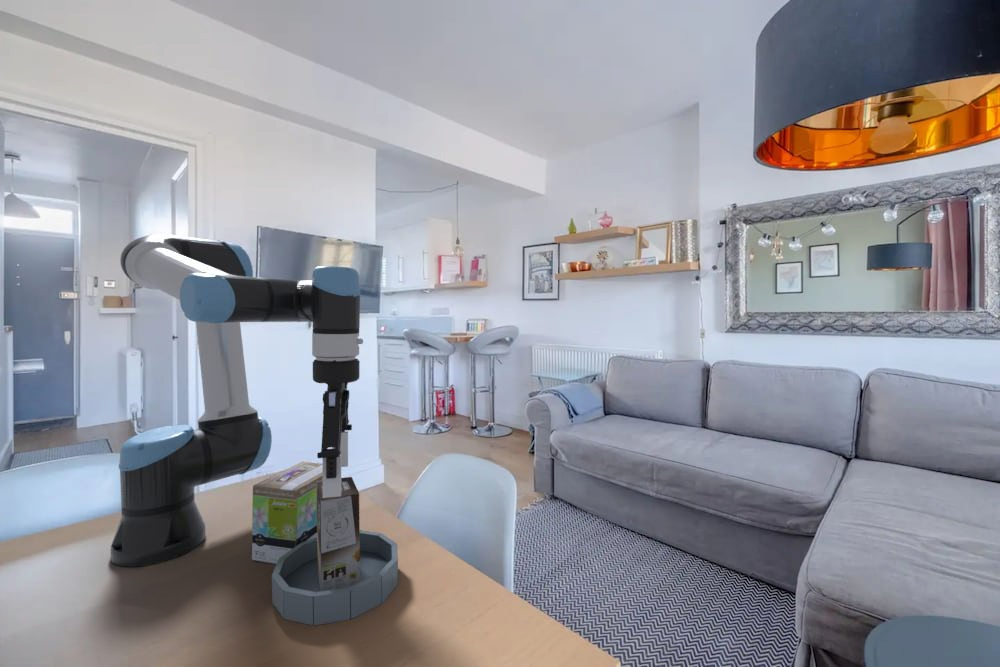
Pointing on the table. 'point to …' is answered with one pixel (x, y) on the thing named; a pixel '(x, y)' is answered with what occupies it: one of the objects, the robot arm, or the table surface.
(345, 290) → the robot arm
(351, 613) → the bowl
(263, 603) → the table surface
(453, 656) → the table surface
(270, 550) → the tea box
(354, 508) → the coffee box
